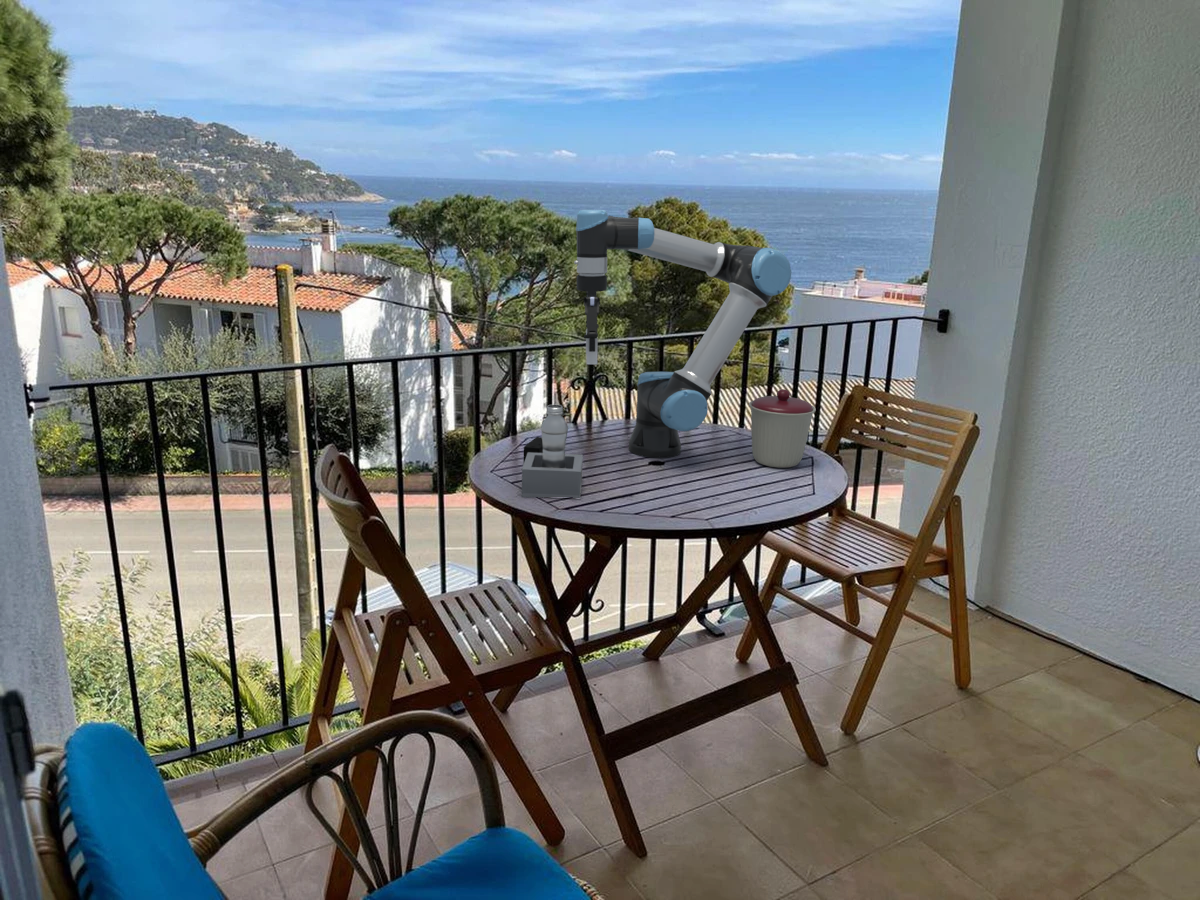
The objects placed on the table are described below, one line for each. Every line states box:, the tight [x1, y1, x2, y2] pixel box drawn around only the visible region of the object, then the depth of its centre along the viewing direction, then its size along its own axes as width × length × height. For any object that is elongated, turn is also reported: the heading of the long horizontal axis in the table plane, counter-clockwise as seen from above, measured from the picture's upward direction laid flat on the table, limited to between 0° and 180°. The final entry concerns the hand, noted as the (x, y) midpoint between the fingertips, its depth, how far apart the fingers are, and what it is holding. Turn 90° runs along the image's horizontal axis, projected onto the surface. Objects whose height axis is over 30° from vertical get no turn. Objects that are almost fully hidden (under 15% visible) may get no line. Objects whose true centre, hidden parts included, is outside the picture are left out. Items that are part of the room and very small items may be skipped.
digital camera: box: [522, 436, 543, 466], centre depth 226 cm, size 10×5×7 cm, turn 165°
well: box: [521, 452, 584, 499], centre depth 209 cm, size 14×14×7 cm
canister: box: [748, 388, 817, 469], centre depth 236 cm, size 18×18×21 cm
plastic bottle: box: [540, 404, 569, 469], centre depth 207 cm, size 6×7×20 cm
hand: (591, 358), depth 217 cm, fingers open, 13 cm apart
